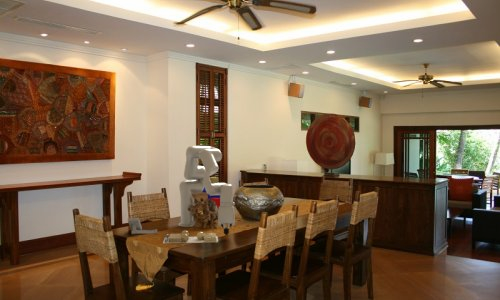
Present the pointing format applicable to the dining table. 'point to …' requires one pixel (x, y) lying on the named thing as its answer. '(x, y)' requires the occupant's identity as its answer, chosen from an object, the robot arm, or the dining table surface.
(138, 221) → the door handle
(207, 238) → the door leaf
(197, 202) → the decorative coral sculpture
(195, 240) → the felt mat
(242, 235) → the dining table surface
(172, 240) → the frame leaf
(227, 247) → the dining table surface
